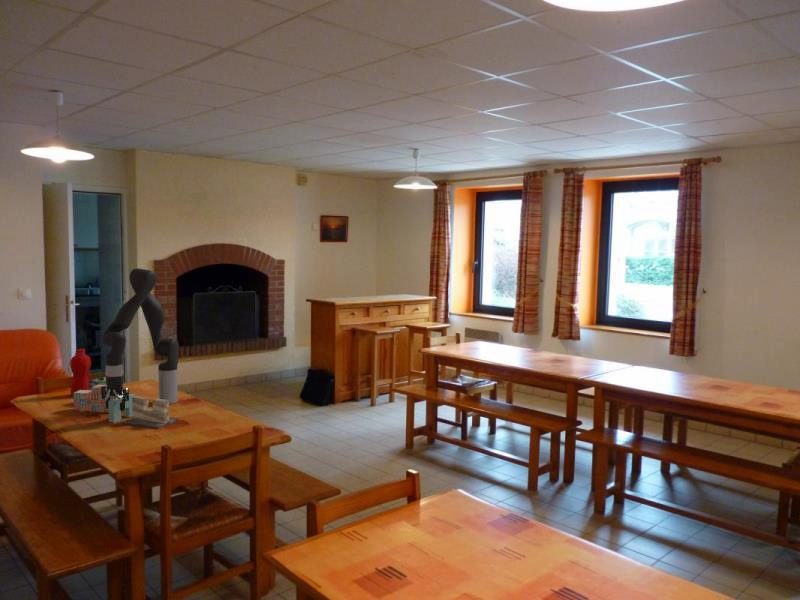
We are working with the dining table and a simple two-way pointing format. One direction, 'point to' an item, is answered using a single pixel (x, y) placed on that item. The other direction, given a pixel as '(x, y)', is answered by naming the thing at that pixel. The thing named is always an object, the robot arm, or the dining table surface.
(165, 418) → the stand
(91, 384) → the chalk box
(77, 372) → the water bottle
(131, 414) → the sage crossbar
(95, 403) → the stack of blocks
